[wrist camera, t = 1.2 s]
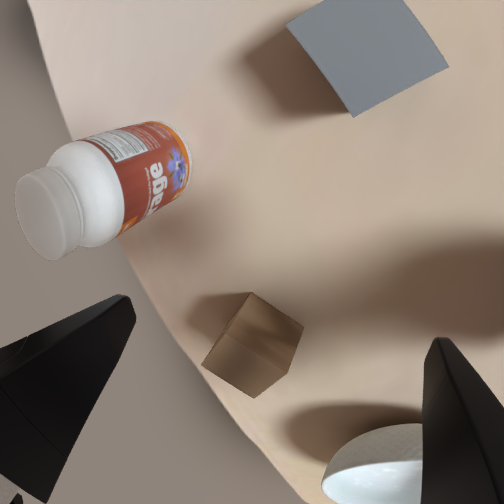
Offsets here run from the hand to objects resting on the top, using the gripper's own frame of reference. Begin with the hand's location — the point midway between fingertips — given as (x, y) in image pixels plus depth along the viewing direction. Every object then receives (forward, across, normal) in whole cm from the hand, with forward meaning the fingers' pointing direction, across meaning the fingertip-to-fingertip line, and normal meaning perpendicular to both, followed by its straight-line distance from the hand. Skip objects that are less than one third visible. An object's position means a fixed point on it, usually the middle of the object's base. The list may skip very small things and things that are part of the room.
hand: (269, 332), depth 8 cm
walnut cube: (+13, +4, +12) cm, 18 cm away
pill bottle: (+14, +11, -2) cm, 18 cm away
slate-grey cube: (+13, -3, -8) cm, 15 cm away
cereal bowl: (+12, -13, +27) cm, 32 cm away
